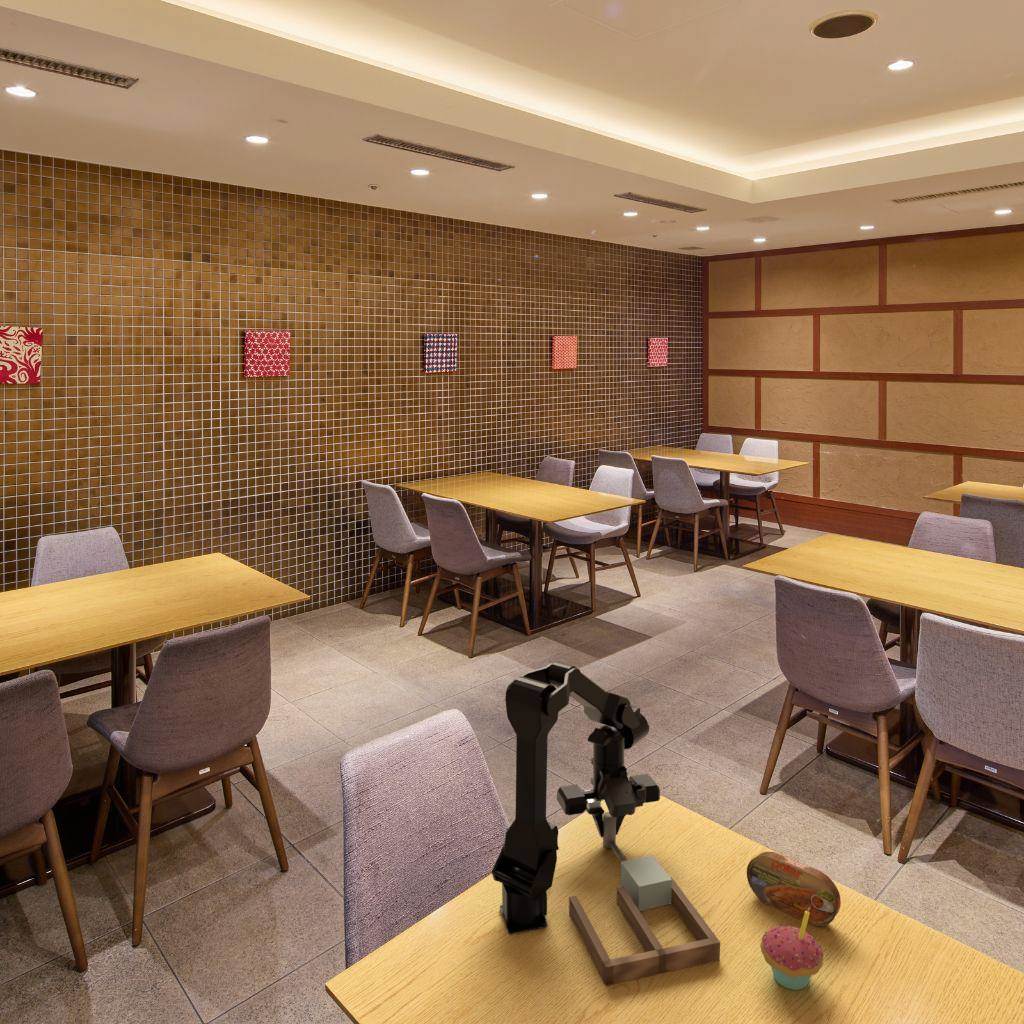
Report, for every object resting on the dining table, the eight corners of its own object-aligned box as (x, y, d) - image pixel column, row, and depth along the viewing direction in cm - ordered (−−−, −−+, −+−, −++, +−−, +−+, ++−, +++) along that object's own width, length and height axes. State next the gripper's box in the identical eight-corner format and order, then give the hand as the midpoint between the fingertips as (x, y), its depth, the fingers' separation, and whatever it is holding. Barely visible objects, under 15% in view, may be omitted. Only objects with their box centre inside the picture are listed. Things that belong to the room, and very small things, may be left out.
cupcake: (820, 964, 115) (824, 892, 113) (822, 1008, 107) (827, 930, 105) (759, 951, 118) (763, 880, 116) (758, 992, 110) (761, 917, 108)
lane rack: (605, 985, 111) (605, 967, 111) (569, 913, 127) (569, 896, 126) (719, 959, 116) (720, 942, 116) (671, 893, 131) (671, 877, 131)
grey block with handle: (638, 911, 127) (639, 878, 126) (592, 843, 145) (592, 814, 144) (671, 903, 129) (672, 871, 128) (621, 838, 147) (621, 809, 146)
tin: (744, 893, 131) (746, 848, 130) (753, 885, 133) (755, 840, 132) (833, 936, 121) (837, 888, 119) (841, 926, 123) (844, 878, 122)
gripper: (575, 787, 133) (575, 869, 136) (674, 772, 137) (672, 851, 140) (555, 757, 143) (556, 833, 146) (648, 744, 148) (646, 818, 151)
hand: (608, 835), depth 145 cm, fingers closed on grey block with handle, 2 cm apart
